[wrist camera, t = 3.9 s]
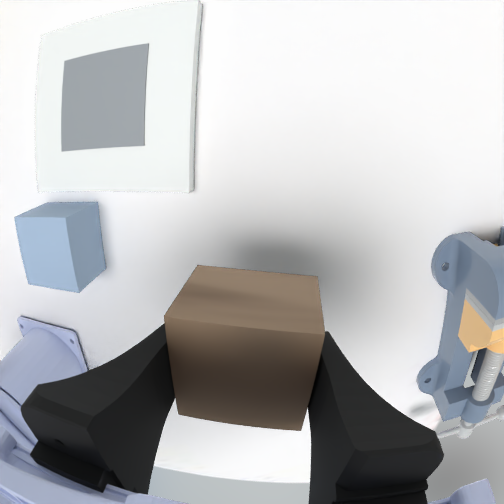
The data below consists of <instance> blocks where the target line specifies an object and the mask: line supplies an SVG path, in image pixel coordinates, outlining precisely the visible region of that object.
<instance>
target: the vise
mask: <svg viewBox="0 0 504 504" xmlns="http://www.w3.org/2000/svg"><path fill="white" fill-rule="evenodd" d="M444 263H445V265H444V266H443V267H442V265H443V264H444ZM431 268H432V274H433V276H434V278H435V280H436V281H437V282H438V283H439V285H440V286H441V287H443V288H444V289H446V290H448V295H447V303H446V310H445V317H444V323H443V329H442V335H441V340H440V345H439V350H438V355H437V356H436V358H434V359H433V360H431V361H430V362H428V363H427V364H426V365H425V366H424V367H423V368H422V369H421V370H420V372H419V374H418V376H417V384H418V387H419V389H420V390H421V391H422V392H423V393H426V394H430V395H432V396H433V398H434V400H435V403H436V405H437V408H438V410H439V413H440V415H441V418H442V420H443V421H446V420H450V419H453V418H456V417H459V416H461V421H460V423H459V425H458V427H455V428H451V429H449V430H445V431H442V432H438V433H436V435H437V437H438V439H440V438H443V437H446V436H449V435H453V434H457V436H458V437H459V438H462V439H465V438H468V437H469V436H470V435H471V433H472V431H473V429H474V427H476V426H479V425H481V424H484V423H487V422H489V421H492V420H494V419H498V420H500V421H502V420H504V405H502V406H500V407H499V408H498V409H497V411H496V413H494V414H491V415H489V416H486V414H487V412H488V410H489V408H490V406H491V405H492V404H495V403H497V402H499V401H500V400H501V398H502V396H503V394H504V376H503V375H502V373H501V371H502V368H503V366H504V227H501V233H500V244H499V246H498V245H497V244H492V243H491V242H489V241H488V240H485V241H482V240H481V239H480V238H478V237H477V236H475V235H474V234H472V233H471V232H465V233H459V234H452V235H450V236H448V237H447V238H445V239H444V240H443V241H442V242H441V243H440V244H439V245H438V247H437V249H436V250H435V253H434V255H433V258H432V265H431ZM476 350H478V353H477V356H476V360H475V363H474V366H473V369H472V373H471V378H472V380H473V381H474V383H475V385H474V386H471V387H468V388H464V386H463V384H464V381H465V378H466V375H467V372H468V369H469V365H470V362H471V359H472V355H473V352H474V351H476ZM485 416H486V417H485Z"/></svg>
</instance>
